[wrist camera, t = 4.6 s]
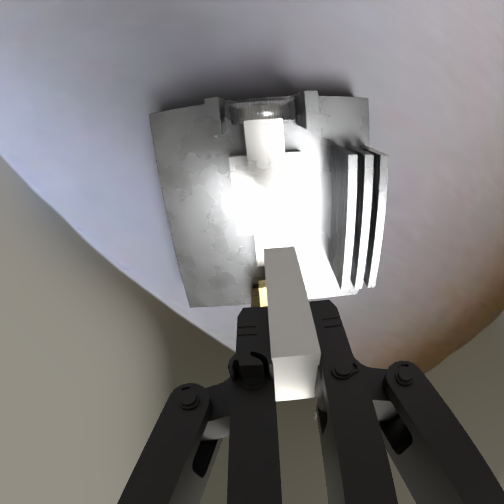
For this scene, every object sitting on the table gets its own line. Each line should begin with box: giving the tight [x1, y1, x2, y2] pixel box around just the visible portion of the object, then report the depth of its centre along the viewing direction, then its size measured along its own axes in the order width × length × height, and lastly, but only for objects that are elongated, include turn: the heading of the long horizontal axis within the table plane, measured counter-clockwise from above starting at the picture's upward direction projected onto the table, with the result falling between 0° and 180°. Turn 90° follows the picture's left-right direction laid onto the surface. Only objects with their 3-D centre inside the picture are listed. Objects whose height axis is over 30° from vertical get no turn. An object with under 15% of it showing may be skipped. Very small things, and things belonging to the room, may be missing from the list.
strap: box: [229, 100, 295, 267], centre depth 19 cm, size 12×4×1 cm, turn 5°
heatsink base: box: [149, 91, 389, 308], centre depth 21 cm, size 18×16×7 cm
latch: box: [251, 280, 268, 307], centre depth 23 cm, size 5×4×4 cm
